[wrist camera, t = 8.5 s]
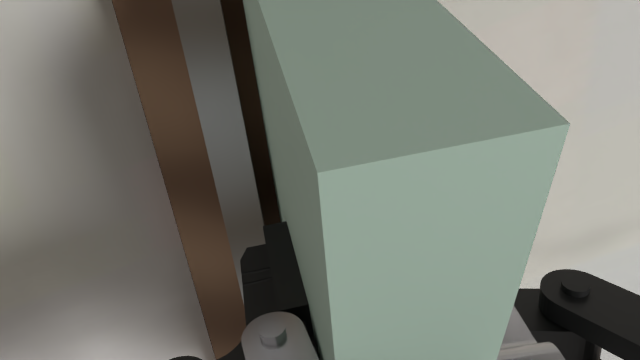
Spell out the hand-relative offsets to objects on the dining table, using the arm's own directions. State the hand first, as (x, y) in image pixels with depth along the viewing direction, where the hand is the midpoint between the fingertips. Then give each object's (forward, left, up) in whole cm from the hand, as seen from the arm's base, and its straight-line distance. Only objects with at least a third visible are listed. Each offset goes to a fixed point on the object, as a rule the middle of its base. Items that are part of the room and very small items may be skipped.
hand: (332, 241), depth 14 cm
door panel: (-2, 0, -4) cm, 4 cm away
